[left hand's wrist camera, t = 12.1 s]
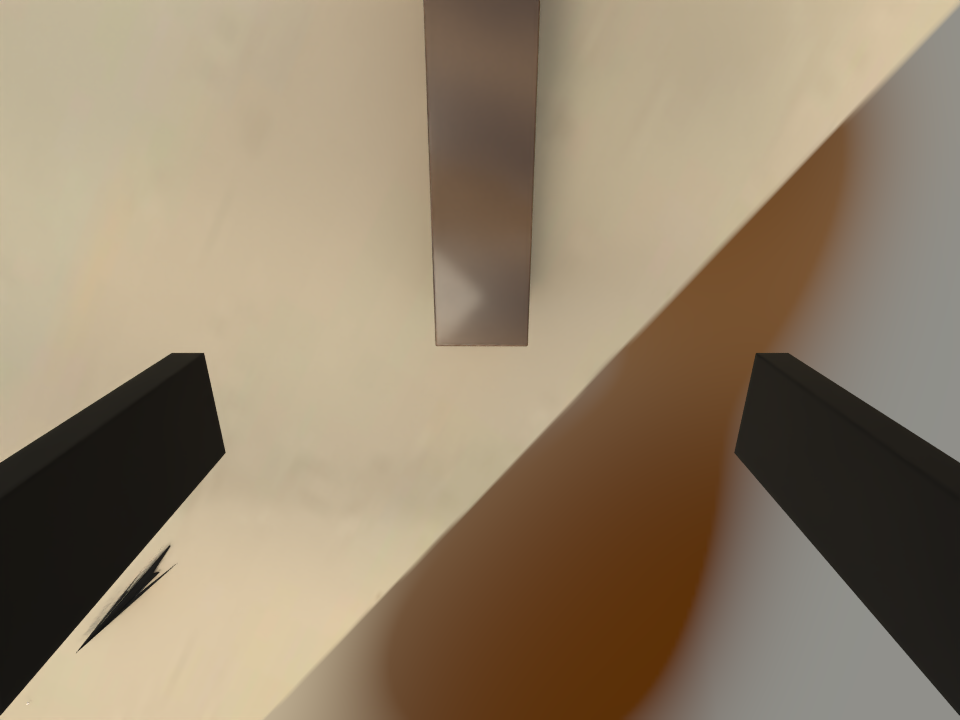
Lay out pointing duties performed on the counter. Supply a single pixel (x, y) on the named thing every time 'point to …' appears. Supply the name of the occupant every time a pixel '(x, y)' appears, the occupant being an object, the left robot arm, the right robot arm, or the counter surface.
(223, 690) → the counter surface
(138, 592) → the feather
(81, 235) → the counter surface
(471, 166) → the beam
